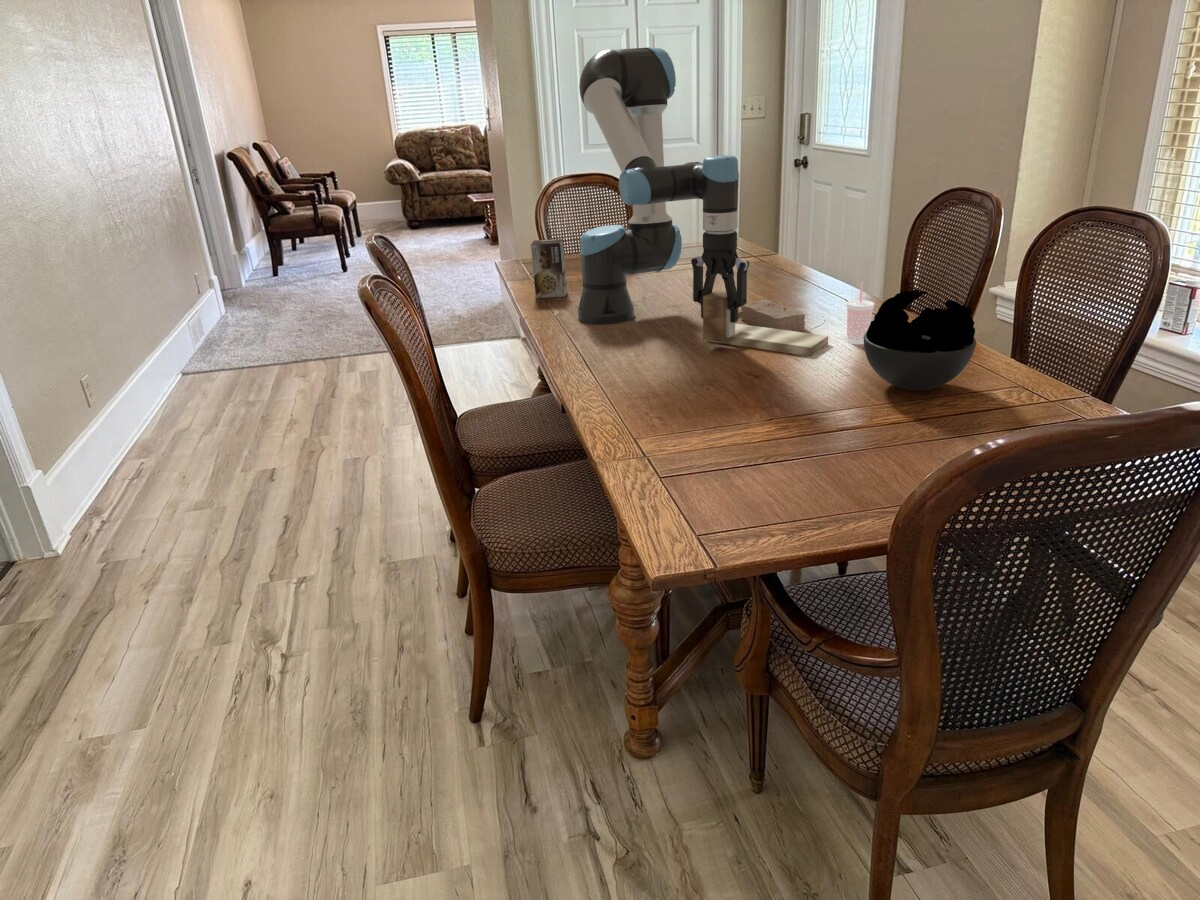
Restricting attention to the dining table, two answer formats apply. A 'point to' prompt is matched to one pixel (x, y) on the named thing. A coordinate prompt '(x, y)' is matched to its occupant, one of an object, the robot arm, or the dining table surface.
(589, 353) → the dining table surface
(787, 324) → the brick
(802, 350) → the board
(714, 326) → the brown block with handle
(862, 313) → the beverage cup
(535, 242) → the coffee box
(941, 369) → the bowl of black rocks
